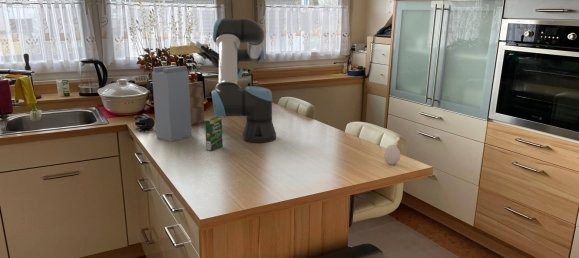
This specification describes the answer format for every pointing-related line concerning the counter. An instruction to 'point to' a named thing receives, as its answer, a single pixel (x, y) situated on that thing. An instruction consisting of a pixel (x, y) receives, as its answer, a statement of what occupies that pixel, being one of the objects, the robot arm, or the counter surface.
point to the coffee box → (213, 133)
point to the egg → (392, 154)
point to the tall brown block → (196, 102)
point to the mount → (171, 102)
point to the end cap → (144, 123)
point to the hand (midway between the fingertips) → (193, 43)
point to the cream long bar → (185, 49)
